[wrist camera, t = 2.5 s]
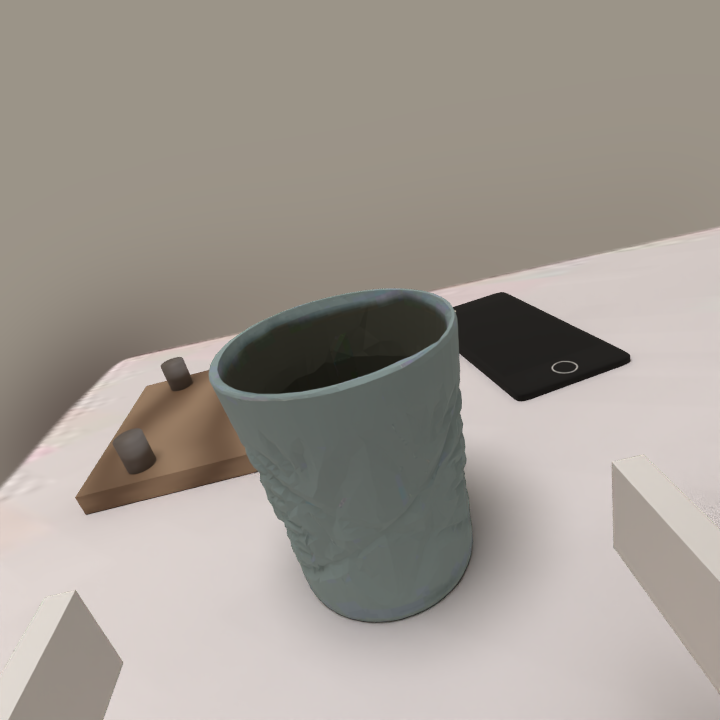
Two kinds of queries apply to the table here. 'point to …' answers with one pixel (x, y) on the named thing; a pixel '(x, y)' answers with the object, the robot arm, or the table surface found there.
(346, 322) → the green cup
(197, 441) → the plate
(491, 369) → the cell phone
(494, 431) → the table surface
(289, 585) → the table surface
